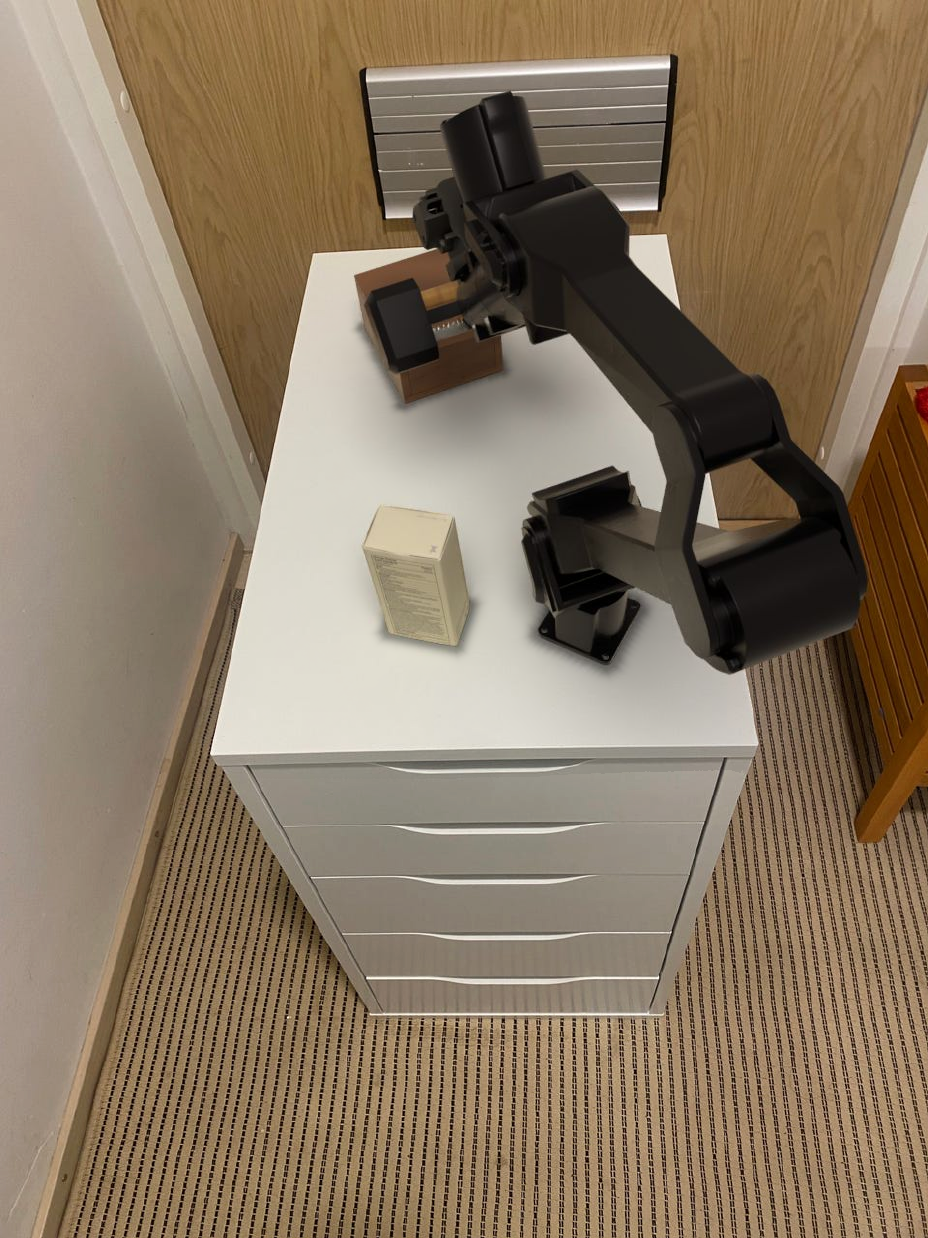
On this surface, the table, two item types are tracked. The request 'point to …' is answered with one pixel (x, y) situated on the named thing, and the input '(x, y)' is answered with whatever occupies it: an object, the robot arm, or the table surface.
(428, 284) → the lid
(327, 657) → the table surface
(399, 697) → the table surface
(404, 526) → the cosmetic box
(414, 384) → the wooden box
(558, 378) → the table surface
